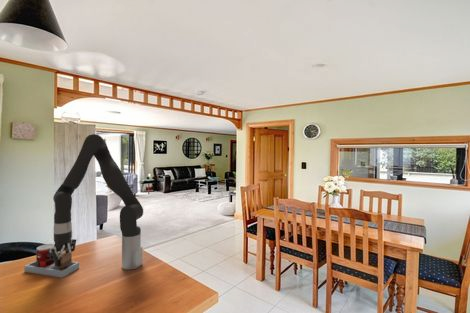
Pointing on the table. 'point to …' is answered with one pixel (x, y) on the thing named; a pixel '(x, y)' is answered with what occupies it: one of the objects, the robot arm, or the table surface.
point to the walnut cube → (65, 259)
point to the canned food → (44, 255)
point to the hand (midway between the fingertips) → (63, 263)
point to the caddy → (51, 269)
